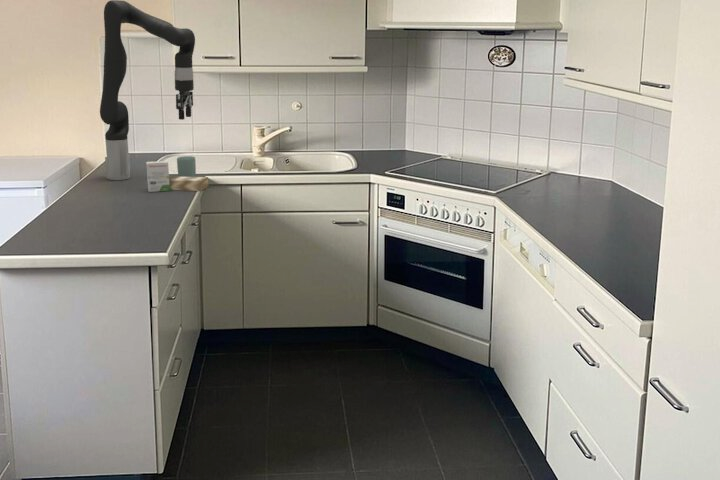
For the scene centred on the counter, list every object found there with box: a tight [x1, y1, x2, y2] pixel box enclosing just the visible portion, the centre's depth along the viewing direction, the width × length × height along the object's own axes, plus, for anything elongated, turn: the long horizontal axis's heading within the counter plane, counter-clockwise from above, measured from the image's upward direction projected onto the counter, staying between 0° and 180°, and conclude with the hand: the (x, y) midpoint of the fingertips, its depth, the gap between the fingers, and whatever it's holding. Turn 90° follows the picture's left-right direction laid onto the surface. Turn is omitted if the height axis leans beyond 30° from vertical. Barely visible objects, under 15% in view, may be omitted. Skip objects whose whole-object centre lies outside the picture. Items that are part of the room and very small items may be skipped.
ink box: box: [145, 160, 171, 193], centre depth 347 cm, size 8×5×12 cm, turn 106°
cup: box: [176, 155, 197, 177], centre depth 368 cm, size 8×8×10 cm
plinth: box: [169, 176, 210, 192], centre depth 352 cm, size 13×9×4 cm
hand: (185, 118), depth 355 cm, fingers open, 8 cm apart
